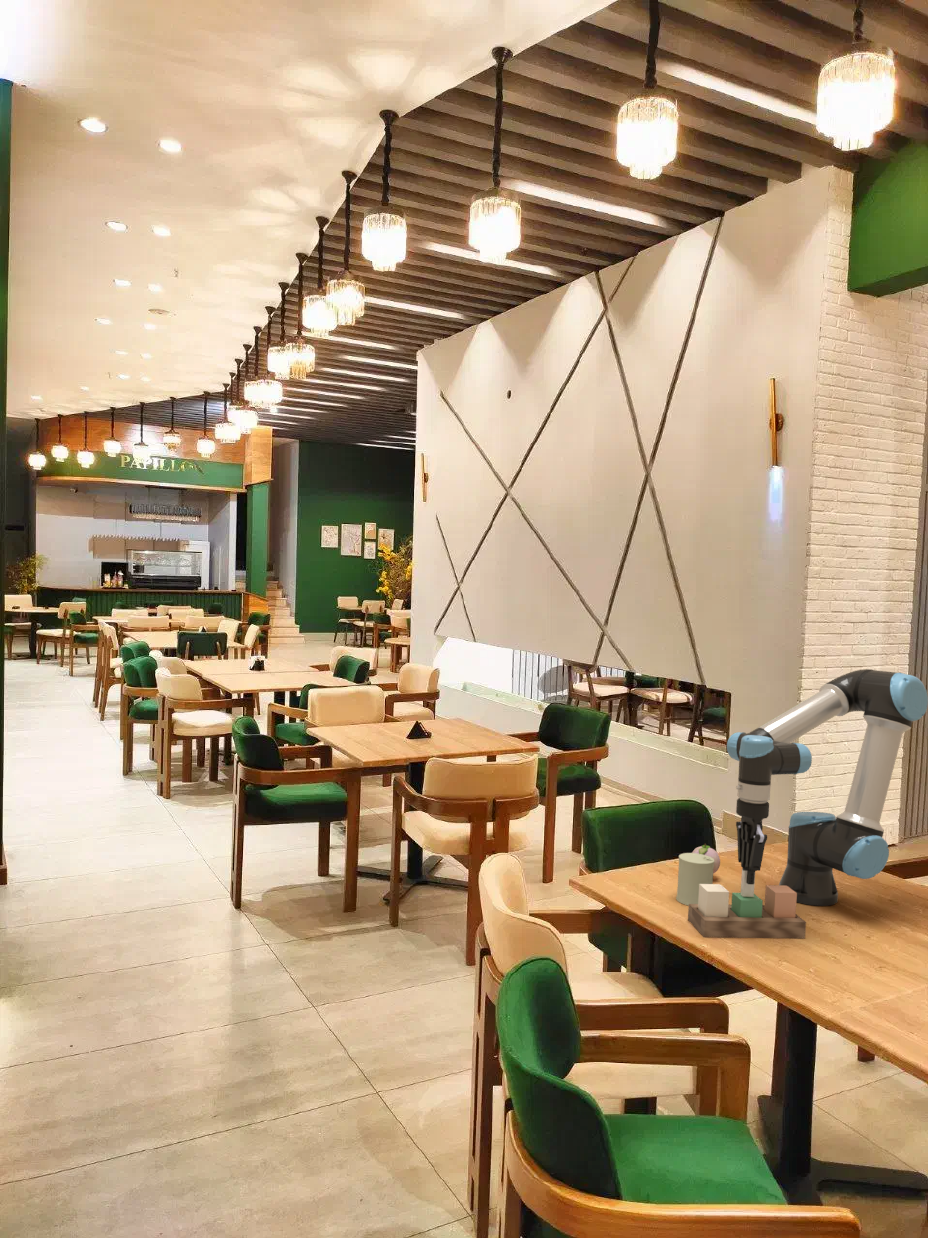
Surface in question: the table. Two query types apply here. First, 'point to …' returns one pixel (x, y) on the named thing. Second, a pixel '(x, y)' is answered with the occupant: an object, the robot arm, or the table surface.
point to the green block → (746, 906)
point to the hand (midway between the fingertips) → (747, 895)
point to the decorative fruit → (711, 853)
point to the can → (693, 876)
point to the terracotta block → (780, 901)
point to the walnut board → (746, 925)
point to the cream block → (713, 900)
